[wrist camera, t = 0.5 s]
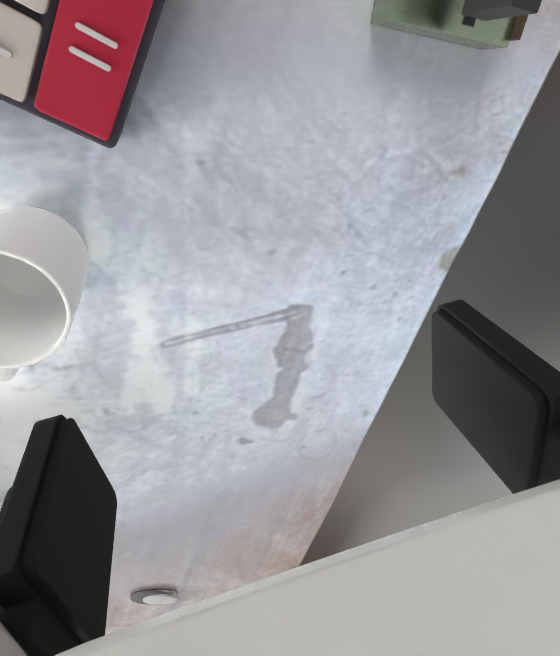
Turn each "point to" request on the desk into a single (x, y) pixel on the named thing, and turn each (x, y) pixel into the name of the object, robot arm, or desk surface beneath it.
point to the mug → (37, 285)
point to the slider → (499, 8)
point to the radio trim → (515, 32)
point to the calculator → (76, 60)
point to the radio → (442, 22)
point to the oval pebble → (154, 597)
